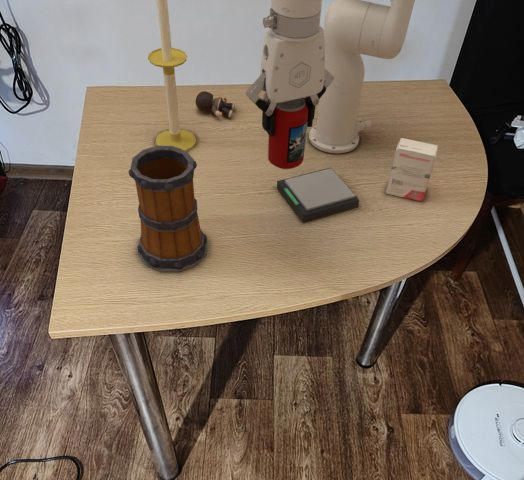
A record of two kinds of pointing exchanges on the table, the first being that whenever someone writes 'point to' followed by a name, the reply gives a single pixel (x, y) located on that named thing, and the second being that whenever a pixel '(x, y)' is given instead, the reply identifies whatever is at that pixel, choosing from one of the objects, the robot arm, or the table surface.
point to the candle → (170, 83)
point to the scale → (317, 194)
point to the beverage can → (288, 134)
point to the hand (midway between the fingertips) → (287, 126)
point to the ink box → (411, 169)
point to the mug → (168, 209)
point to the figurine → (214, 104)
